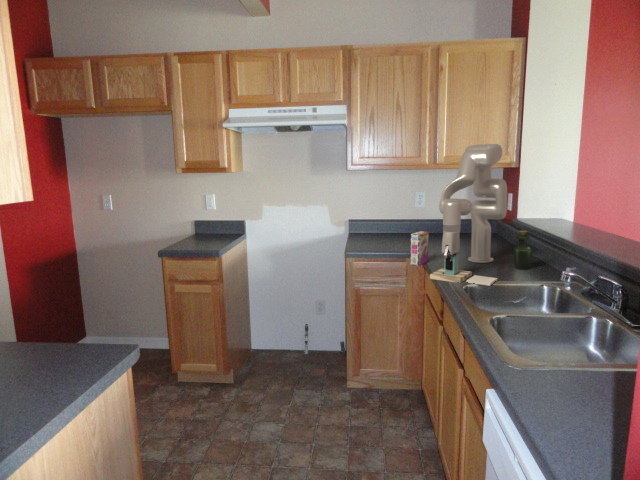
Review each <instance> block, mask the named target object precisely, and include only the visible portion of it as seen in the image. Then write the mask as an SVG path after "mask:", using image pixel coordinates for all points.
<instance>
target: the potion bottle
mask: <svg viewBox="0 0 640 480" xmlns="http://www.w3.org/2000/svg"><path fill="white" fill-rule="evenodd" d="M528 232H529V231H528V230H519V231H518V234H519V235H516V238H515V239H517V240H518V244H516V245H514V247H513V250H512V251H513V265H514V268H515V269H516V270H522V271H524V270H525V271H526V270H529V269H530V265H531V258H532V250H533V249H532V247H531V246H530V245H528V244H527V242H528V240H530V239H531V238H530V236H529V235H528Z"/></svg>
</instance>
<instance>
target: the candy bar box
mask: <svg viewBox="0 0 640 480" xmlns="http://www.w3.org/2000/svg"><path fill="white" fill-rule="evenodd" d="M429 233H430V232H429V231H424V230H423V231H417V232H414V233H410V258H409V259H410V263H409V265H410V266H415V267H420V266H421V265H422V266H423V265H424V264H427V263H428V262H429V237H430V236H429V235H430V234H429Z"/></svg>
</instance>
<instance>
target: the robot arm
mask: <svg viewBox="0 0 640 480" xmlns="http://www.w3.org/2000/svg"><path fill="white" fill-rule="evenodd" d="M502 156H503V148H502V146H501V145H500V144H497V143H486V144H473V145H469V146H467V147H466V148H465V150H464V152H463V153H462V155H461V159H460V163H459V167H458V168H457V169H458V170H457V172H456V173H457V174H456V177H455V178H454V179H453V180H452V181H451V182H449V183H448V184H447V185H446V187H445V188H444V189H443V190H442V193H441V195H440V201H439V205H438V207H439V212H440V213H441V214H442V232H443V233H442V240H441V254H442V255H443V257H444V267H445V269H447V270H453V261H452V255H459V253H458V252H459V251H460V248H461V247H460V245H461V239H460V238H461V237H460V233H461V224H462V223H461V221H462V220H461V219H462V218H461V216H468V215H469V214H470V219H471V237H470V238H471V241H470V242H471V245H470V250H471V251H470V256H468V258H467V261H469V262H471V263H476V264H477V263H480V264H481V263H484V264H486V263H491V262H493V261H494V257H491V249H492V248H491V247H492V246H491V245H492V243H491V241H492V226H491V223H490V222H489V221H488V220H503V219H505V218H506V215H507V211H508V186H507V185H508V184H507V182H506V180H504V179H503V178H492V167H493V166H495V165H496V164H497V163H498V162H499V161H500V160H501V158H502ZM472 185H473V186H472ZM471 186H472V187H473V188H472V189H473V195H474V196H475V197H476V198H492V199H493V200H490V199H478V200H474V201H472V202H471V200H469V199H466V198H452V196H453V195H454V194H456V193H457V192H459V191H461V190H463V189H466V188H469V187H471ZM494 199H495V200H494ZM448 255H449V256H450V257H449V256H448Z"/></svg>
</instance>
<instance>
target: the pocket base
mask: <svg viewBox="0 0 640 480" xmlns="http://www.w3.org/2000/svg"><path fill="white" fill-rule="evenodd" d="M472 275H473V273H472V271H468V270H461V269H458V274H457V275H447V274H444V268H443V267H441V268H439V269H437V270H436V271H434V272H432V273H430V274H429V279H430V280H437V281H444V282H449V283H450V282H451V283H457V282H459V283H458V284H461V283H463V282H464V281H467V280H468V279H469V278H471V277H473V276H472ZM462 281H463V282H462Z"/></svg>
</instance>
